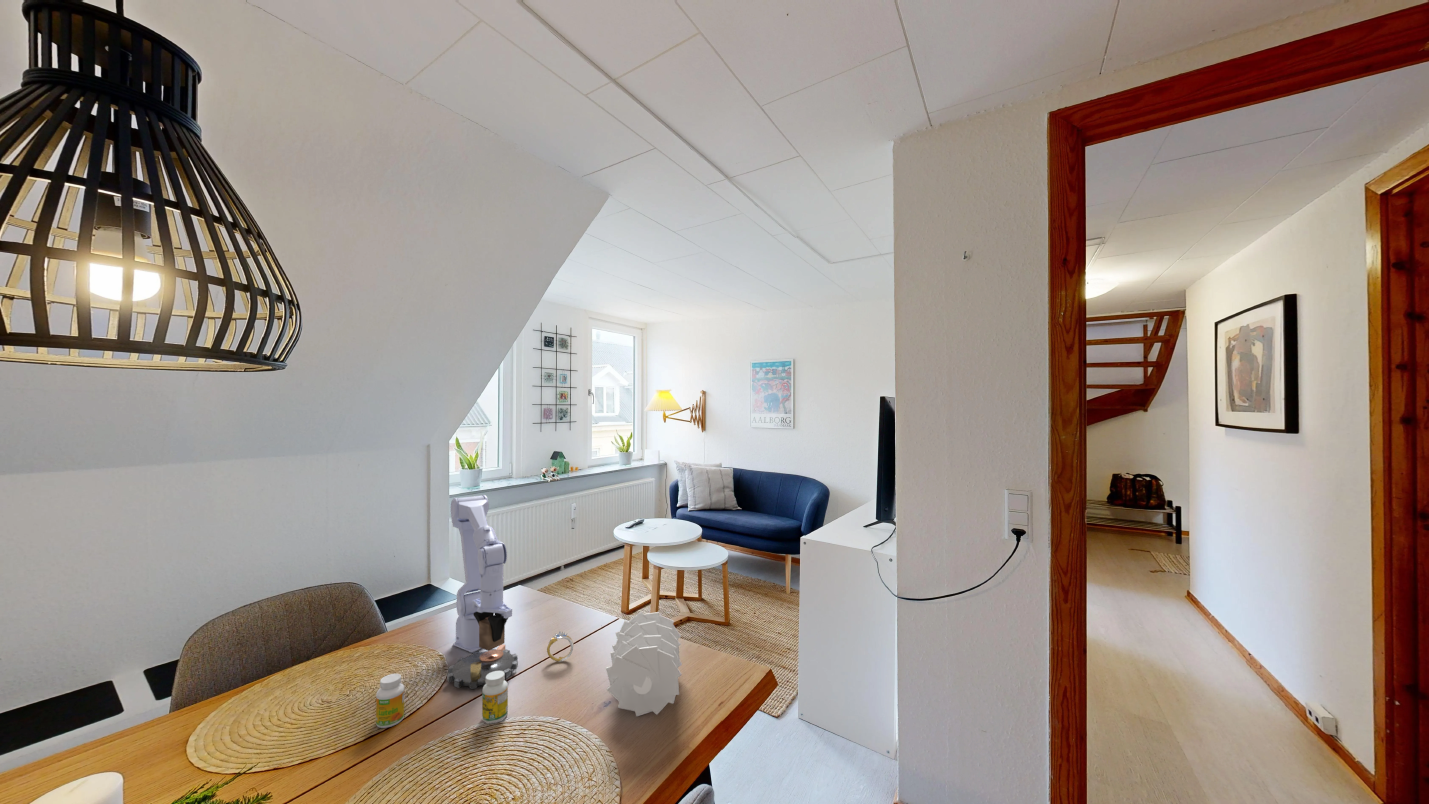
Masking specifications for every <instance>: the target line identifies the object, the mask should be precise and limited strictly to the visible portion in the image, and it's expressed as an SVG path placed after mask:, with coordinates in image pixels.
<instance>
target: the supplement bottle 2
mask: <svg viewBox="0 0 1429 804" xmlns="http://www.w3.org/2000/svg"><path fill="white" fill-rule="evenodd" d="M505 679H506V678H505V673H504V672H503V671H494V672H491V673H489V674H487V675H486V680H485V682H486V684H485V685H483V687H482V691H481V692H482V693H481V696H482V700H481V703H482V707H481V709H482V710H481V711H482V713H481V717H482V718H481V719H482V721H483V722H484V723H485V724H497V723H500V722H501V721H503V720H504V719H506V717H507V715H508V712H509V711H508V710H509V709H508V707H509V700H508V699H509V698H508V697H509V695H508V694H509V686H508V685H509V684H508V682H507V680H505Z"/></svg>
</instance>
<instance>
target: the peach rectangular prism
mask: <svg viewBox="0 0 1429 804" xmlns="http://www.w3.org/2000/svg"><path fill="white" fill-rule="evenodd" d="M495 649H496V650H501V651H503V650H505V649H506V644H502V645H500V646H498V647H496V648H495Z"/></svg>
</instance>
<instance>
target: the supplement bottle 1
mask: <svg viewBox="0 0 1429 804" xmlns="http://www.w3.org/2000/svg"><path fill="white" fill-rule="evenodd" d="M375 701H376V702H375V724H376V727H377V728H380V729H385V728H387V729H388V728H391V727H394V726H395V725H398V724H399V723H401V722H402V721H403V719H404V718H405V684H403V683H402V675H401V674H400V673H390V674H388V675H384V676H383V677H382V678H380V681H379V689H378V690H377V691H376V695H375Z"/></svg>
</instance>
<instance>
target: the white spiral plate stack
mask: <svg viewBox="0 0 1429 804" xmlns="http://www.w3.org/2000/svg"><path fill="white" fill-rule="evenodd" d="M674 623H675V620H673V619H671V618H668V617H666V616H664V615H662V614H660V611H657V612H656V611H655V612H648V613H643V612H642V611H639V612H638V613H637V614H636V615H634V616H633V617H631V619H629V620H624V621H623V624H622V625H621V627H620V630H618V631H616V632H615V636H616V639H617V640H616V642H615V644H613V645H612V650H613V651H610V653H609V654H610V657H611V664H612V665H610V666H607V667H605V670H606V674H607V677H608V682H609V686H608V687H607V689H606V691H607V692H609V694H610V695H612V696H613V698H615V699H616V700H617V701H618V705H617V708H619V709H622V710H626V711H632V712H634V713H635V717H639V716H643V715H645V714H648V713H651V712H653V713H654V714H655V715H658V714H659V713H660V712H661V711H662V710H663V709H664V708H665V707H666V705H668V704H669V703H670V704H674V703H675V700H676V696H679V695H680V688H679V678H680V677H681V676H682V675H683V674H682V672H681V671H680V669H679V667H681V666H682V665H683V664H682V661H681V658H680V646H681V642H680V641H679V639H680V638H681V637H682V635H681V634H680V632H679V631H678V629H677V628H676V627H675V625H674Z"/></svg>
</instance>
